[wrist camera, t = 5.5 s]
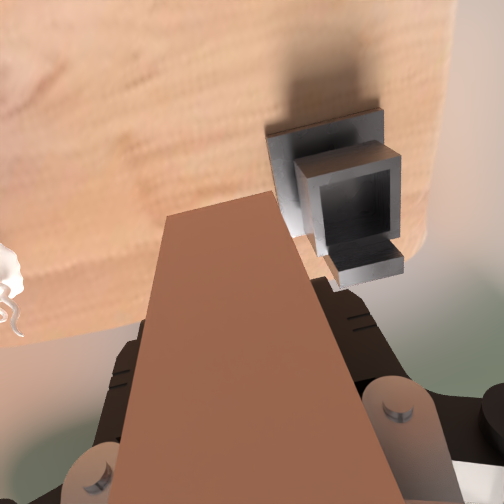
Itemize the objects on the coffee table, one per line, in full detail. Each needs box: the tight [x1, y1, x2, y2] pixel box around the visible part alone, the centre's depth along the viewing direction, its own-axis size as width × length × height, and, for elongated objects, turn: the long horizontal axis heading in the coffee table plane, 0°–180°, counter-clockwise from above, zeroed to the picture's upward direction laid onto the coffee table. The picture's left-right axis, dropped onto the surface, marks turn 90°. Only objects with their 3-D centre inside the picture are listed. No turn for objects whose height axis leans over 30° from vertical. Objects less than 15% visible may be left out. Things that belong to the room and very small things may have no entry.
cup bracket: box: [265, 108, 404, 288], centre depth 29 cm, size 10×10×10 cm
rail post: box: [108, 191, 405, 504], centre depth 8 cm, size 4×4×14 cm
